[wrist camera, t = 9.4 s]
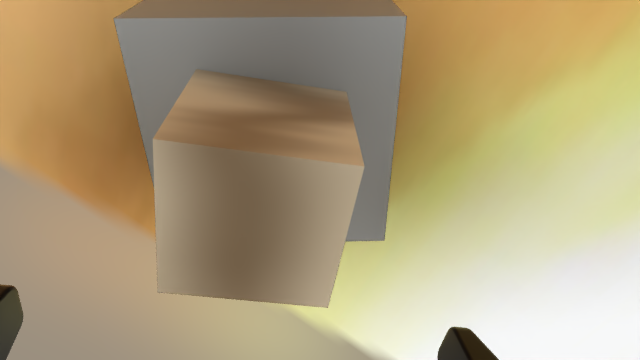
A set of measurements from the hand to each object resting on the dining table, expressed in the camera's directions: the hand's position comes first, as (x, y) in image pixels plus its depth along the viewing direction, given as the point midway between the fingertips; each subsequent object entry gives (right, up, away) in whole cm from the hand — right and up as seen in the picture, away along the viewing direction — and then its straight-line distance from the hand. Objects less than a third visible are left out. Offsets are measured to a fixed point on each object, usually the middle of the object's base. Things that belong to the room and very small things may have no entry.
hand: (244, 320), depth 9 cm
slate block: (0, +6, +10) cm, 12 cm away
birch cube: (0, +4, +7) cm, 8 cm away
